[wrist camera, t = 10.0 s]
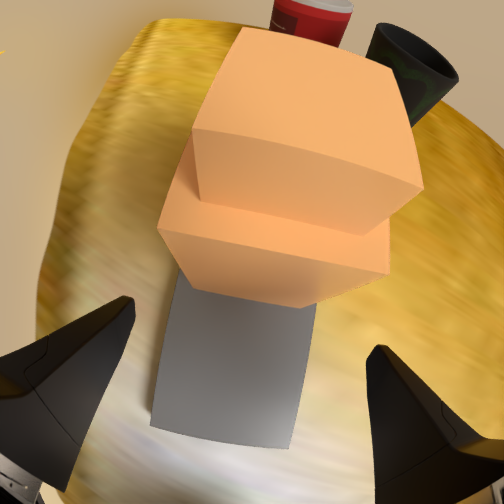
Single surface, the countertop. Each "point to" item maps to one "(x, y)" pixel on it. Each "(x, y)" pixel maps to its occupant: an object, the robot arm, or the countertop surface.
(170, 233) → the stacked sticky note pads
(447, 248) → the countertop surface
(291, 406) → the board
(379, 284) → the countertop surface
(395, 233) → the countertop surface
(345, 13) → the canned food
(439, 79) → the cup
